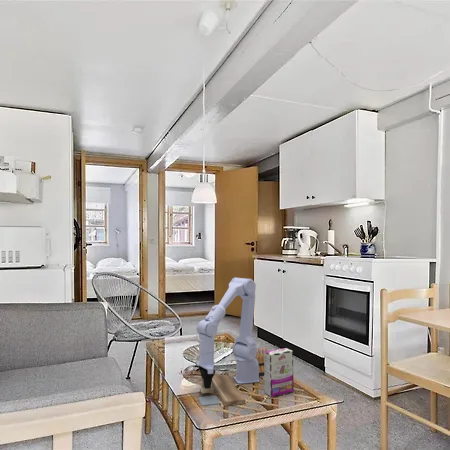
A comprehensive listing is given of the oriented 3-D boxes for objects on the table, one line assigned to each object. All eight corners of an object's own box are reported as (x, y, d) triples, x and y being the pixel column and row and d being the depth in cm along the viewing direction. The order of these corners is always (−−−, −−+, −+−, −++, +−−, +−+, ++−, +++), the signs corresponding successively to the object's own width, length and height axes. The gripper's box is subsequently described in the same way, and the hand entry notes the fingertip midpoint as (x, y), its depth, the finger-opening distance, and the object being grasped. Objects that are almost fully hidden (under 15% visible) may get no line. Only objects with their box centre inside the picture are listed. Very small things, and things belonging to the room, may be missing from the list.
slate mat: (215, 396, 139) (215, 395, 139) (220, 403, 133) (220, 402, 133) (197, 398, 137) (197, 397, 137) (201, 406, 131) (201, 405, 131)
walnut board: (226, 378, 158) (226, 374, 158) (245, 403, 133) (245, 399, 133) (208, 380, 155) (208, 376, 156) (224, 406, 130) (224, 401, 131)
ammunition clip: (251, 377, 159) (248, 348, 163) (249, 377, 160) (246, 348, 164) (272, 373, 163) (268, 345, 167) (270, 373, 165) (266, 346, 169)
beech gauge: (210, 389, 143) (210, 374, 144) (212, 392, 140) (212, 376, 141) (200, 390, 142) (200, 375, 143) (202, 393, 139) (202, 377, 140)
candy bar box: (286, 388, 147) (286, 347, 148) (294, 392, 143) (293, 350, 144) (263, 393, 142) (263, 351, 143) (270, 398, 138) (270, 354, 139)
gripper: (193, 346, 148) (193, 380, 147) (200, 357, 134) (200, 394, 133) (210, 345, 150) (209, 378, 149) (218, 356, 136) (218, 392, 135)
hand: (206, 386), depth 141 cm, fingers closed on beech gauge, 3 cm apart
